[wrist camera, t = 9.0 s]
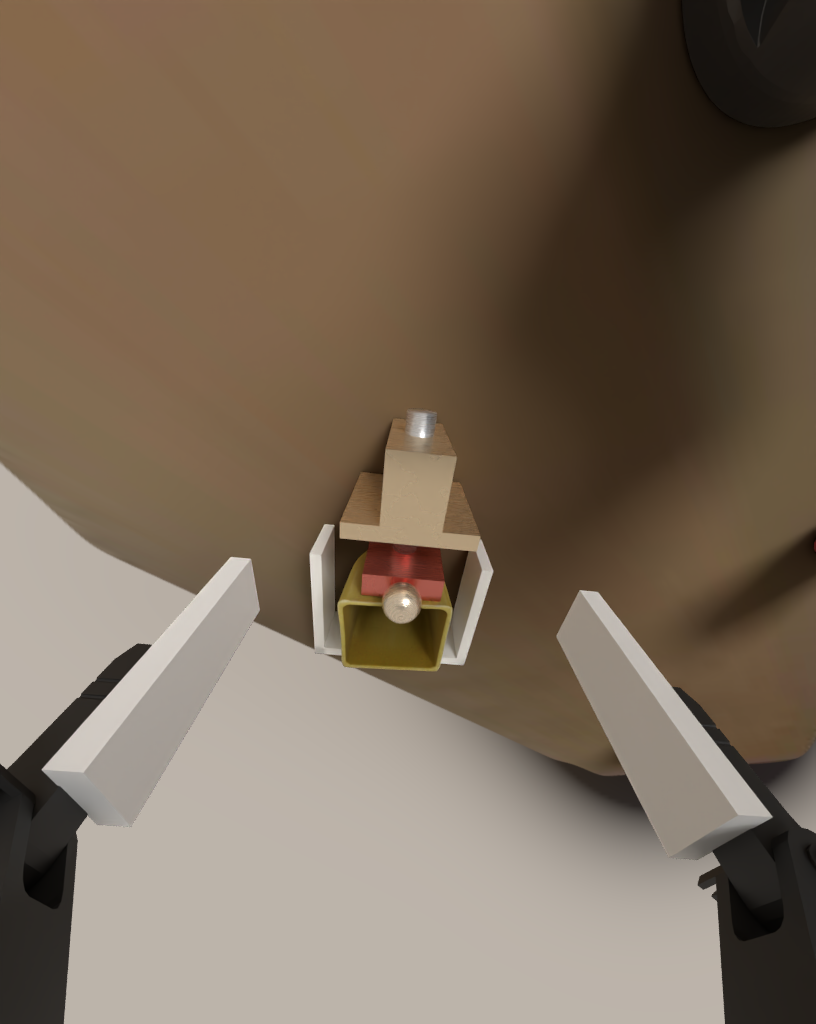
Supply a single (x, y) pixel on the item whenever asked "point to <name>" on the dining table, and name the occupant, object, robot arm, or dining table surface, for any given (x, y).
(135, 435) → the dining table surface
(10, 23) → the dining table surface
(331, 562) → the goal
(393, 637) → the flower pot
